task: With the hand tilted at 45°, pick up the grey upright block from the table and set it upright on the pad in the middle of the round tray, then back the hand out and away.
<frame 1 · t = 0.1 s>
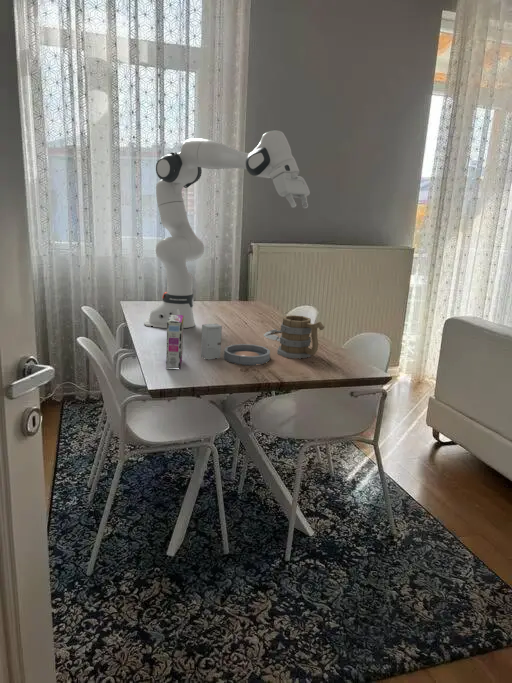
hand: (300, 207, 191), 54 cm above the table, tool tilted 30°, fingers open, 8 cm apart
round tray: (246, 358, 189), on the table
grey upright block: (210, 358, 187), on the table
tankard: (300, 356, 195), on the table
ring: (286, 337, 223), on the table
candy bar box: (174, 365, 177), on the table
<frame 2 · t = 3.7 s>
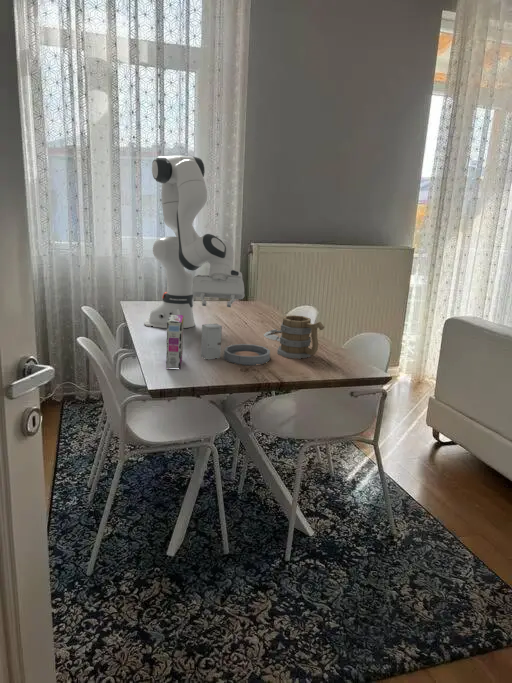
hand: (216, 305, 195), 17 cm above the table, tool tilted 45°, fingers open, 8 cm apart
nothing on the table moved.
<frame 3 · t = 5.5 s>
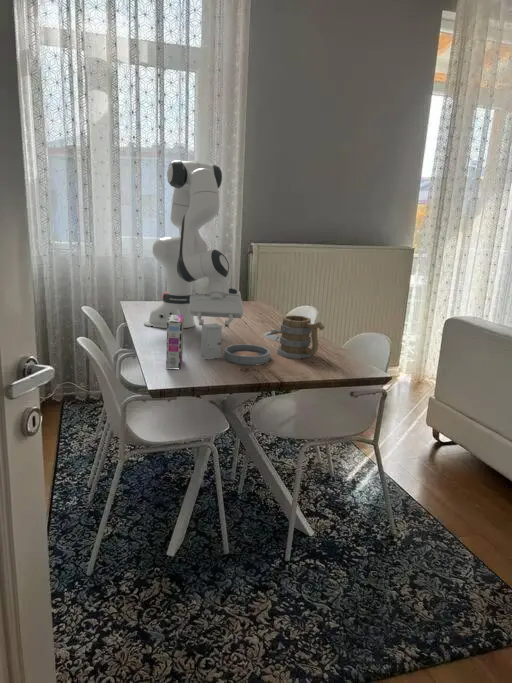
hand: (214, 325, 189), 11 cm above the table, tool tilted 45°, fingers open, 8 cm apart
nothing on the table moved.
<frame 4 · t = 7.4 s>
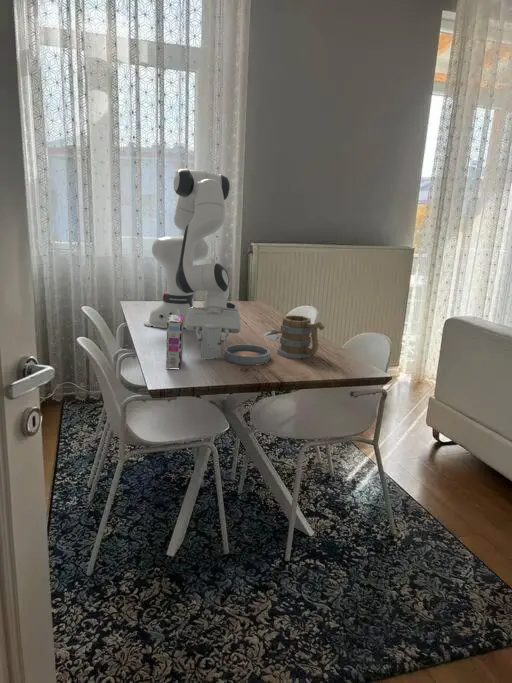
hand: (211, 340, 185), 6 cm above the table, tool tilted 45°, fingers closed on grey upright block, 7 cm apart
grey upright block: (210, 357, 187), on the table, touching gripper
everything else where it was.
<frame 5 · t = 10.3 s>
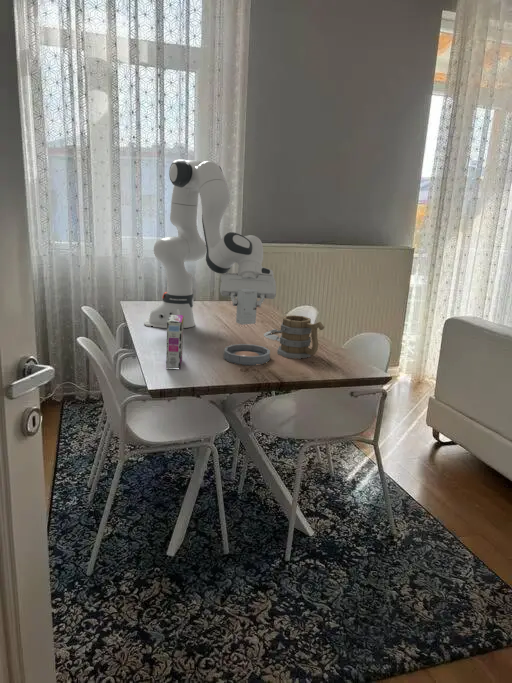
hand: (246, 305, 183), 20 cm above the table, tool tilted 45°, fingers closed on grey upright block, 7 cm apart
grey upright block: (245, 323, 185), point 13 cm above the table, touching gripper
everything else where it was.
when the fingers open (9 cm above the table, at t = 13.5 s): grey upright block drops 1 cm, resting on round tray.
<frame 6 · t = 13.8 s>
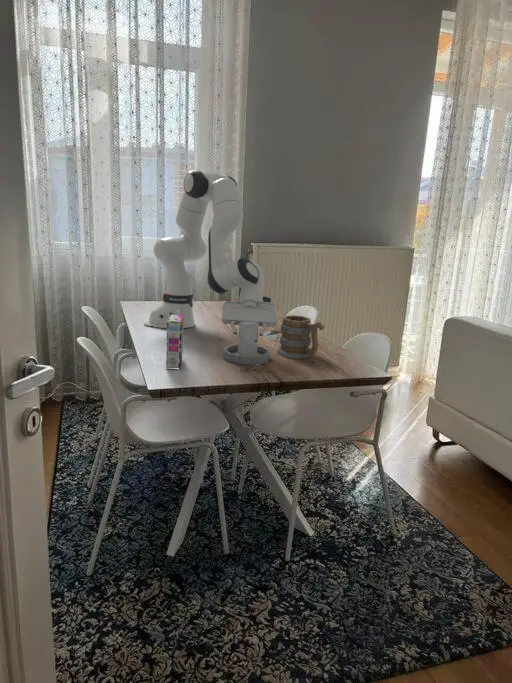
hand: (248, 334, 186), 9 cm above the table, tool tilted 45°, fingers open, 8 cm apart
grey upright block: (247, 355, 189), point 1 cm above the table, touching round tray
everything else where it was.
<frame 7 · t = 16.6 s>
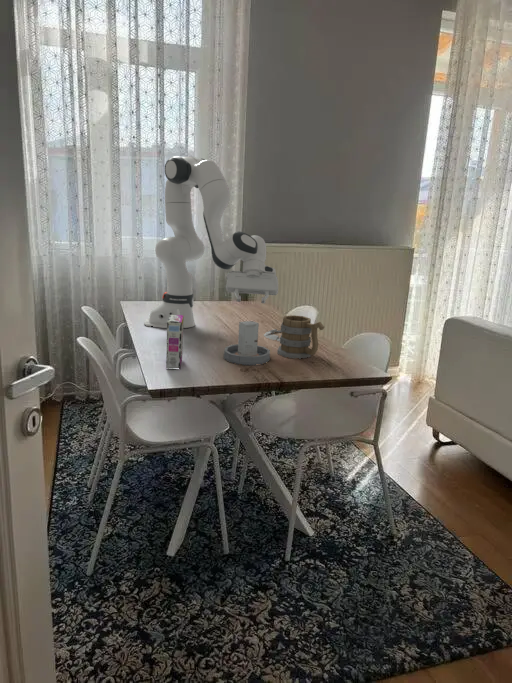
hand: (250, 301, 196), 19 cm above the table, tool tilted 45°, fingers open, 8 cm apart
nothing on the table moved.
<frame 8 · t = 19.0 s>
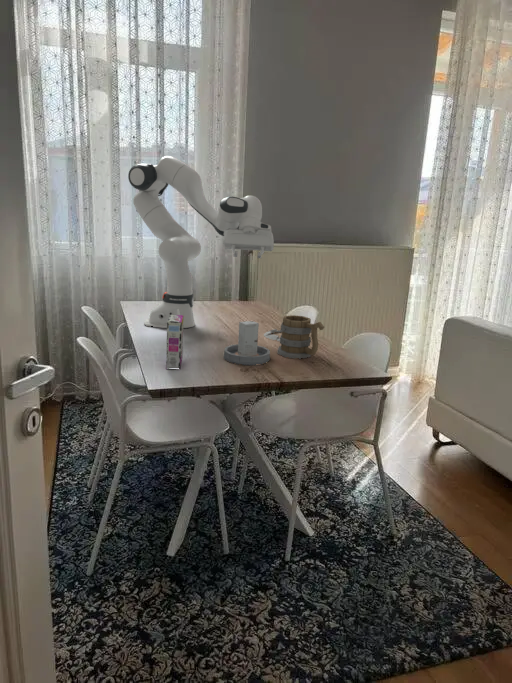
hand: (247, 256, 202), 34 cm above the table, tool tilted 45°, fingers open, 8 cm apart
nothing on the table moved.
at the end: grey upright block inside the target area on the round tray (0.1 cm from its centre), point 1.1 cm above the round tray's base; grey upright block tilted 0°; the gripper is holding nothing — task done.
